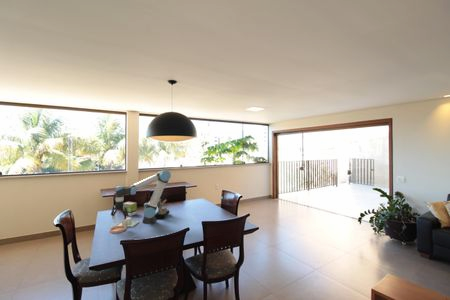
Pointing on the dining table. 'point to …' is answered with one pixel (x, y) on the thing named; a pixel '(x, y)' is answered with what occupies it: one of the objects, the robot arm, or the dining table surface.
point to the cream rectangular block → (128, 220)
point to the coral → (161, 210)
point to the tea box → (131, 208)
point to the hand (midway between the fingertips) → (119, 222)
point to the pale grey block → (125, 223)
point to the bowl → (117, 229)
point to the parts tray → (128, 224)
